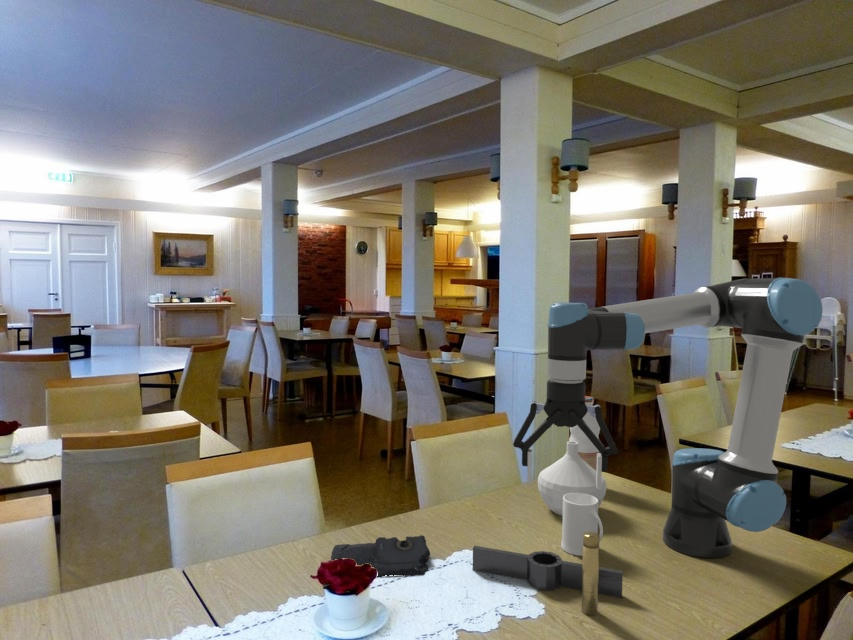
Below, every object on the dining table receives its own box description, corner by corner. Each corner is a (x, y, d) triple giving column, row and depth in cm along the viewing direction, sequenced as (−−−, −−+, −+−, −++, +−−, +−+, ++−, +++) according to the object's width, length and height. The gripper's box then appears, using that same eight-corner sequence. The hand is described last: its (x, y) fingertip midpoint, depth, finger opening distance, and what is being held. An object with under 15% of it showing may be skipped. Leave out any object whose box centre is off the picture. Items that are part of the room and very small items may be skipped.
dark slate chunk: (331, 550, 140) (331, 531, 139) (423, 545, 143) (424, 526, 142) (330, 583, 124) (330, 561, 124) (433, 576, 128) (433, 555, 127)
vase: (614, 525, 154) (616, 452, 153) (543, 524, 155) (545, 451, 154) (595, 499, 173) (596, 434, 172) (532, 498, 173) (533, 434, 172)
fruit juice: (584, 494, 176) (587, 401, 175) (561, 485, 184) (563, 396, 182) (605, 488, 182) (608, 398, 180) (581, 480, 189) (583, 393, 188)
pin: (598, 609, 114) (600, 533, 114) (596, 617, 112) (598, 539, 111) (582, 605, 116) (584, 530, 115) (580, 613, 113) (582, 536, 112)
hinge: (622, 588, 122) (623, 564, 122) (620, 605, 116) (621, 580, 115) (477, 561, 133) (478, 540, 133) (468, 576, 127) (468, 553, 127)
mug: (614, 559, 135) (615, 508, 134) (582, 565, 132) (583, 512, 132) (584, 538, 146) (585, 490, 145) (554, 543, 143) (555, 494, 143)
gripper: (629, 379, 119) (625, 483, 121) (504, 374, 124) (502, 473, 126) (634, 386, 112) (630, 496, 113) (501, 380, 117) (499, 485, 118)
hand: (563, 484), depth 120 cm, fingers open, 13 cm apart
